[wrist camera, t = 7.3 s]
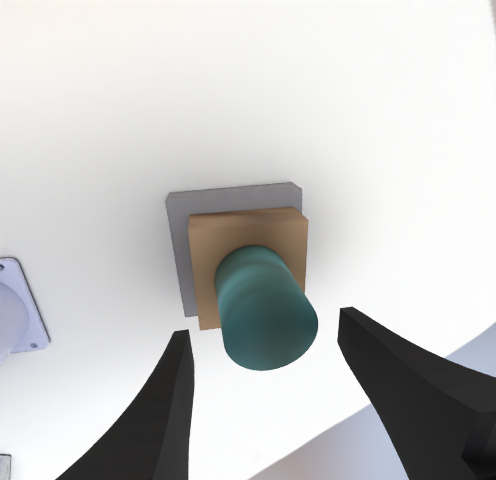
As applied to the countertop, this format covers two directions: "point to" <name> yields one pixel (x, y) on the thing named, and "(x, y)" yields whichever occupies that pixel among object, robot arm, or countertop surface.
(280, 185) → the charcoal base block
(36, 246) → the countertop surface
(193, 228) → the walnut block
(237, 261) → the teal cylinder
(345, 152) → the countertop surface
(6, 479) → the light bulb box
